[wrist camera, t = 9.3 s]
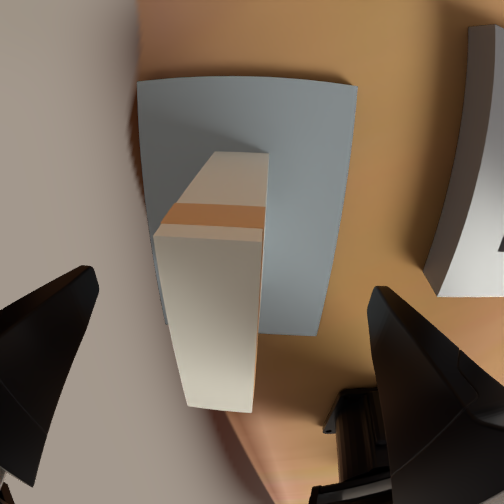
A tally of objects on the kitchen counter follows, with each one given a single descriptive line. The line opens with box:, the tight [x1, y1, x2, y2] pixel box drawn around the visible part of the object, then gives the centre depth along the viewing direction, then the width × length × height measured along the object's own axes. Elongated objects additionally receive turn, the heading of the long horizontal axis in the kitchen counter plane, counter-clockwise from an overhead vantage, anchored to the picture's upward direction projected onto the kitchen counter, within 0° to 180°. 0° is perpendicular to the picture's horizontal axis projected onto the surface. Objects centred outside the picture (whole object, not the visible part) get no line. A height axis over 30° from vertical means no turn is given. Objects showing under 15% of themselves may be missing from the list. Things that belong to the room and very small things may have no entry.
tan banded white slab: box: [153, 151, 269, 413], centre depth 10 cm, size 6×2×6 cm, turn 178°
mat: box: [137, 76, 358, 336], centre depth 13 cm, size 12×8×1 cm, turn 178°
